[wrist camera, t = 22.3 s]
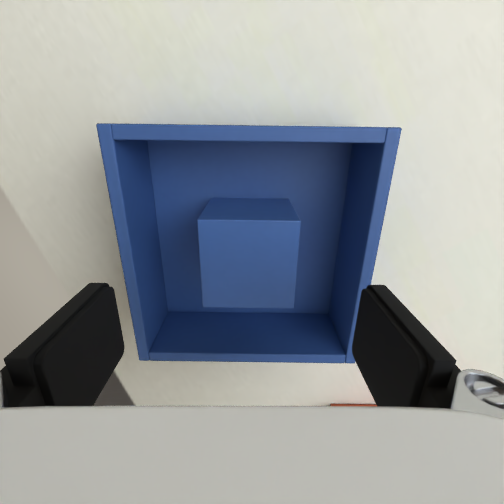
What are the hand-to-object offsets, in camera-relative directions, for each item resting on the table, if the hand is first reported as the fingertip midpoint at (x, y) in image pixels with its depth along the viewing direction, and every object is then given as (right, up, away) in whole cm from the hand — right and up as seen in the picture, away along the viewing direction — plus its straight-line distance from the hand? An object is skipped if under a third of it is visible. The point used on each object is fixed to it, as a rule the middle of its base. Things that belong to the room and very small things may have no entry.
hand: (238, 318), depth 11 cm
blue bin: (0, +4, +7) cm, 8 cm away
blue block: (0, +4, +7) cm, 7 cm away
